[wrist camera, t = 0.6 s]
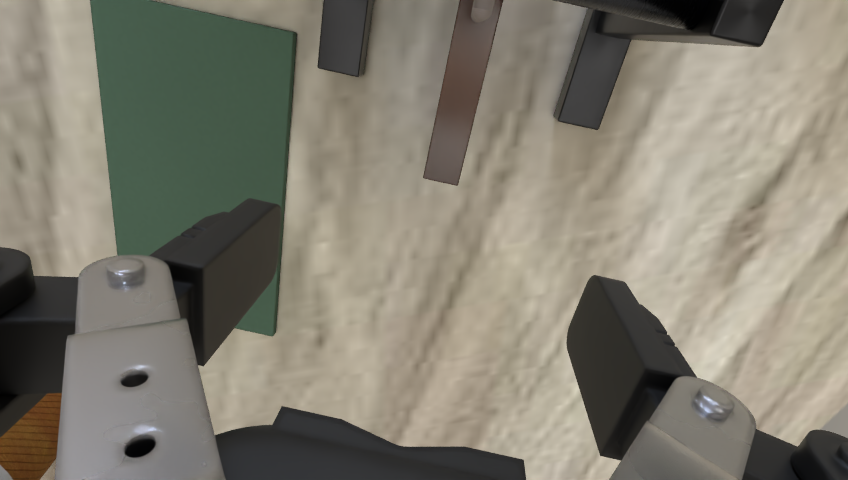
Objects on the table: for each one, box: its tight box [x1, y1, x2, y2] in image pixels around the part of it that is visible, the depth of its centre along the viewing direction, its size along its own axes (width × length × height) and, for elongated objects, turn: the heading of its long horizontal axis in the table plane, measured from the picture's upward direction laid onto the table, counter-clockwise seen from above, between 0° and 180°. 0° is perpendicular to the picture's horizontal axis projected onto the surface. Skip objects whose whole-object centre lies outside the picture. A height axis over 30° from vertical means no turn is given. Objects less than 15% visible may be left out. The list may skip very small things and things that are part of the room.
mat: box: [90, 0, 297, 336], centre depth 31 cm, size 22×12×1 cm, turn 169°
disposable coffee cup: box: [0, 393, 62, 480], centre depth 35 cm, size 10×10×12 cm
